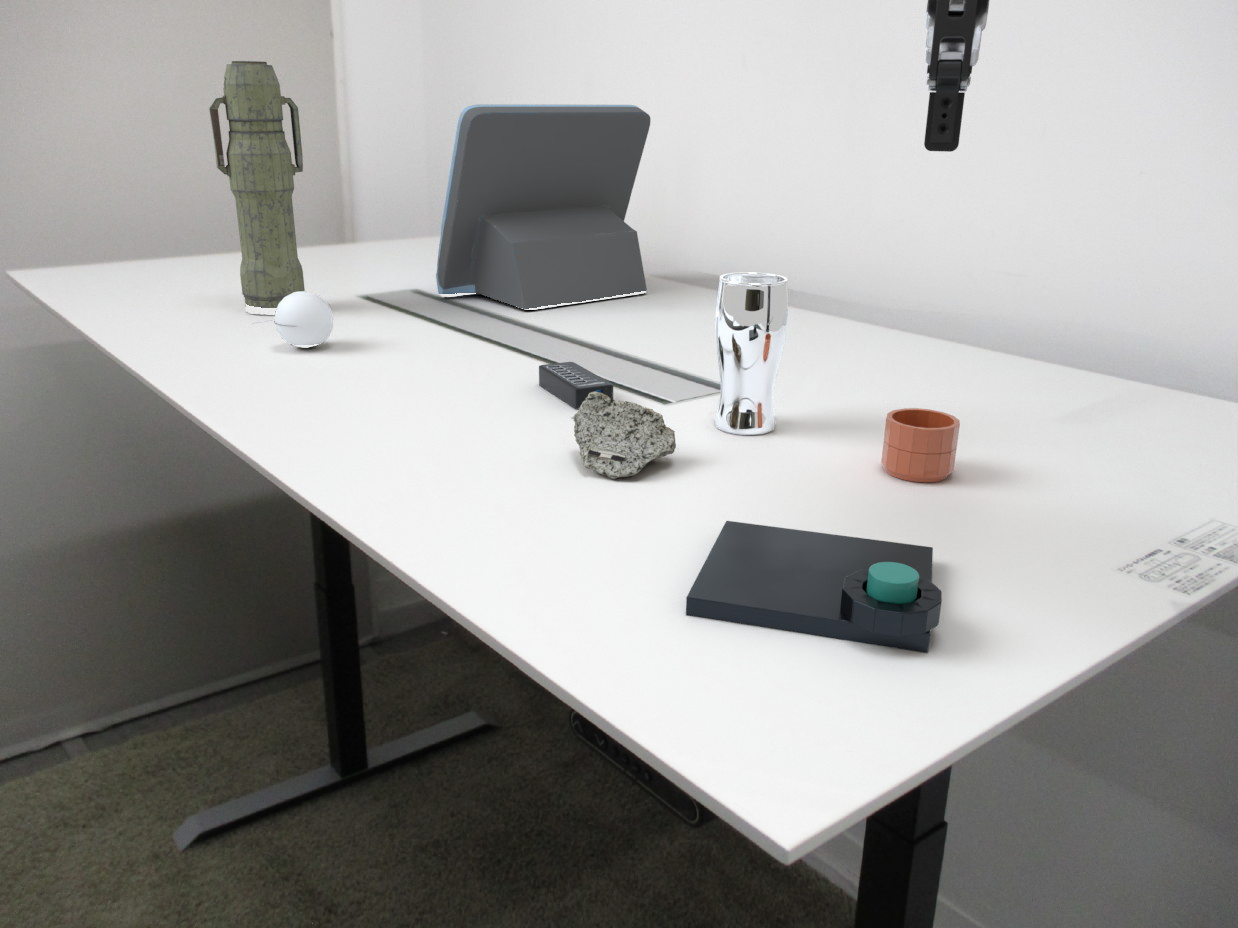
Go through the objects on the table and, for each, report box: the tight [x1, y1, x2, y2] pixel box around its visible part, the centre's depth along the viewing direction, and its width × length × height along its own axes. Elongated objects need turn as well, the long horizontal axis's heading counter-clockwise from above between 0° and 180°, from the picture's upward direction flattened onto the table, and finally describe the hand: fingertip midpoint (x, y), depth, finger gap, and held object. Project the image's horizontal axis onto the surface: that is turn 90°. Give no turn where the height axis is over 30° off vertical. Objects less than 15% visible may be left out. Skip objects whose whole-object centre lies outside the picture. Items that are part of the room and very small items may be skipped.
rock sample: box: [570, 392, 679, 480], centre depth 90 cm, size 10×8×9 cm
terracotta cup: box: [880, 407, 961, 483], centre depth 89 cm, size 6×6×5 cm
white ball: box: [252, 290, 335, 345], centre depth 129 cm, size 10×7×7 cm
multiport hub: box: [538, 361, 614, 410], centre depth 112 cm, size 4×11×2 cm, turn 26°
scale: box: [685, 520, 943, 654], centre depth 68 cm, size 15×14×3 cm
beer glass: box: [714, 271, 789, 436], centre depth 100 cm, size 7×7×15 cm
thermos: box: [208, 60, 306, 308], centre depth 147 cm, size 9×12×35 cm
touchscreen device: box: [435, 103, 651, 309], centre depth 162 cm, size 35×20×30 cm, turn 130°
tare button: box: [867, 562, 919, 604], centre depth 62 cm, size 3×3×2 cm
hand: (941, 148), depth 71 cm, fingers open, 8 cm apart
